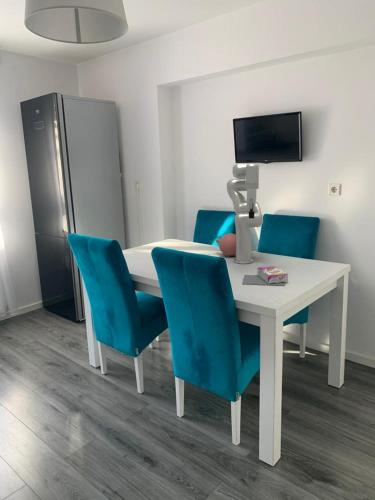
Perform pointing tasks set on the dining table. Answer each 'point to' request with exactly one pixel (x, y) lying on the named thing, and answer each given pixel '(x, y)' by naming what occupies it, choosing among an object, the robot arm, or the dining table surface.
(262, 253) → the dining table surface
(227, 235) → the balloon
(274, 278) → the candy bar box
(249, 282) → the rubber mat
